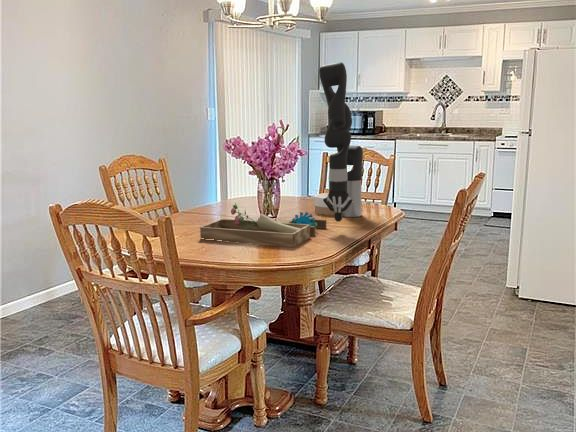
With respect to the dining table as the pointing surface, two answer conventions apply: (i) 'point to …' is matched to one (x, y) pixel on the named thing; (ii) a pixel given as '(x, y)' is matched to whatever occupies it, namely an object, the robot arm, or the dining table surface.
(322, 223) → the cradle
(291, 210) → the dining table surface
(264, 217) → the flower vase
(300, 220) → the gear
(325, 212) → the bowl
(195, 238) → the dining table surface
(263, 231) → the wooden tray
